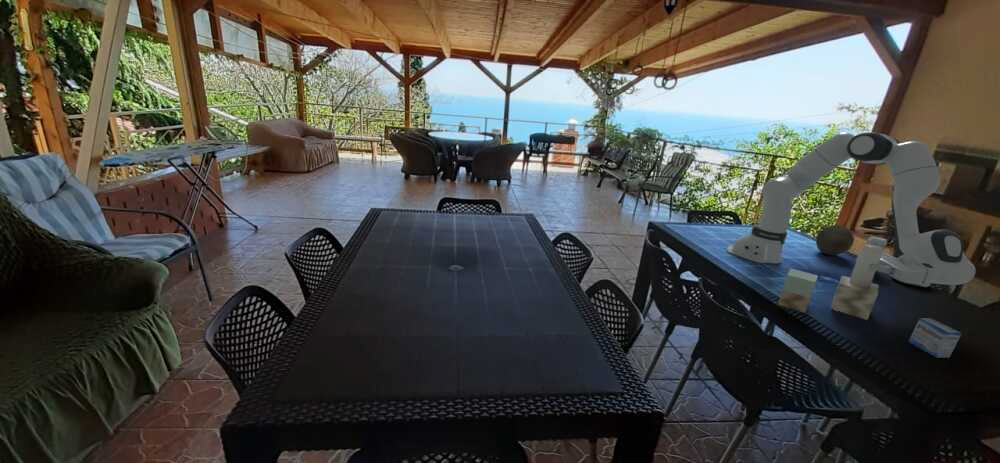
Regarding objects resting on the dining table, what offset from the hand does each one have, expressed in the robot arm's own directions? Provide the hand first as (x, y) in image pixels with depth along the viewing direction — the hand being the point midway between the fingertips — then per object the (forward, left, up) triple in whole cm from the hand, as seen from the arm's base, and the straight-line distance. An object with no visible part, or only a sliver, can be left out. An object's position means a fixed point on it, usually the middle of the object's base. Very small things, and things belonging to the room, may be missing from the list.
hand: (864, 262), depth 133 cm
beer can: (+4, +56, -18) cm, 59 cm away
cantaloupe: (-10, +66, -18) cm, 70 cm away
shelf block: (+1, 0, -18) cm, 18 cm away
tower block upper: (-14, -12, -12) cm, 22 cm away
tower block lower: (-14, -12, -18) cm, 26 cm away
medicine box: (+20, -14, -18) cm, 30 cm away
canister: (+1, 0, -8) cm, 8 cm away
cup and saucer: (+18, +52, -18) cm, 58 cm away
